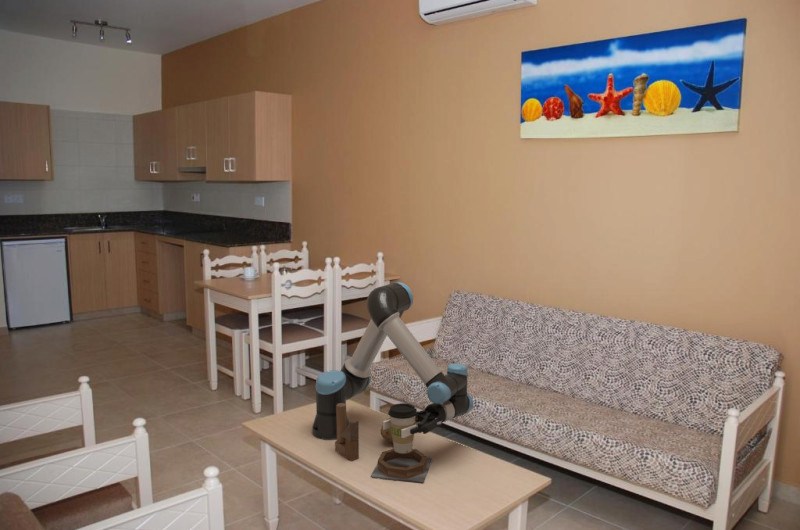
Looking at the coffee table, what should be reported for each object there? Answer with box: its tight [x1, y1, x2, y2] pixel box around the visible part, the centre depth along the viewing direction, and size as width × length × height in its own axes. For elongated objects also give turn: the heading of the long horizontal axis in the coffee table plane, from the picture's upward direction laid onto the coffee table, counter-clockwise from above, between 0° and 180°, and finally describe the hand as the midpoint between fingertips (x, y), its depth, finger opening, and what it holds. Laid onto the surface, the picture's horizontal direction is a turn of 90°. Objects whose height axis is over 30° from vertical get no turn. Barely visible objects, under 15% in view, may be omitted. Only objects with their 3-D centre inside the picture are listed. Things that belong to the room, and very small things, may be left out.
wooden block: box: [334, 403, 360, 461], centre depth 220 cm, size 4×11×18 cm, turn 38°
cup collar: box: [370, 448, 433, 484], centre depth 210 cm, size 18×18×4 cm
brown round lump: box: [380, 417, 393, 444], centre depth 230 cm, size 9×9×10 cm
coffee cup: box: [388, 402, 418, 453], centre depth 208 cm, size 10×10×15 cm
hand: (392, 429), depth 205 cm, fingers closed on coffee cup, 9 cm apart
